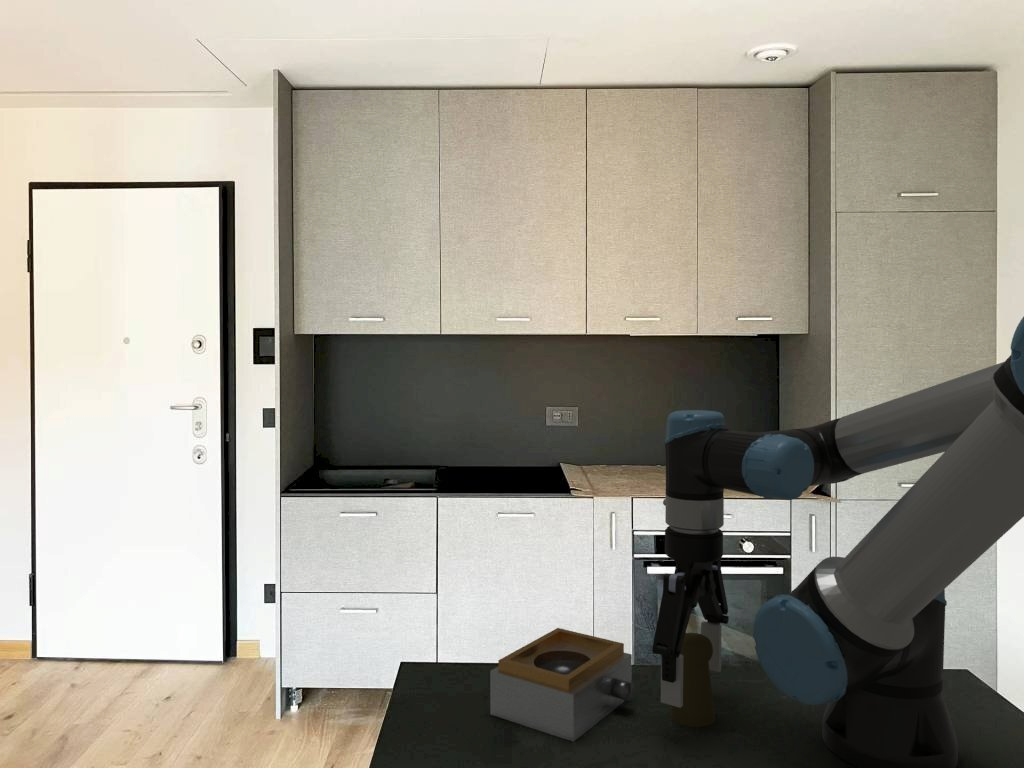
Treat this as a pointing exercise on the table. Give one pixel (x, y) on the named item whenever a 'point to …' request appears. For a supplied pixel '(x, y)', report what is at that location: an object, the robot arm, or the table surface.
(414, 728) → the table surface
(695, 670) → the cork
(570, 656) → the grey box with hole
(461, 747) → the table surface
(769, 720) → the table surface
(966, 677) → the table surface
